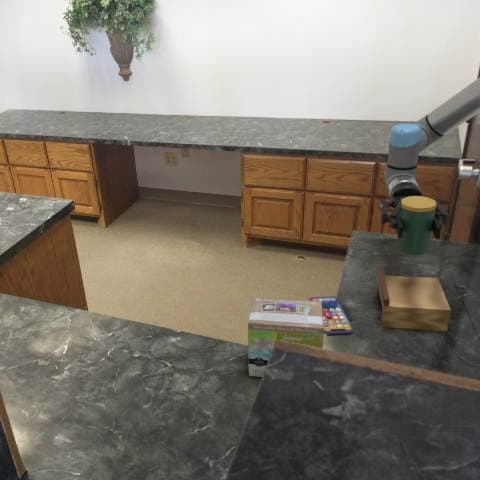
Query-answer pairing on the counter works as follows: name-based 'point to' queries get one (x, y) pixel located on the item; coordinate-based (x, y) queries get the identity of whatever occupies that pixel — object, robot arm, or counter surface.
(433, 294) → the wooden block
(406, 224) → the tea tin
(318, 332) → the tea box
